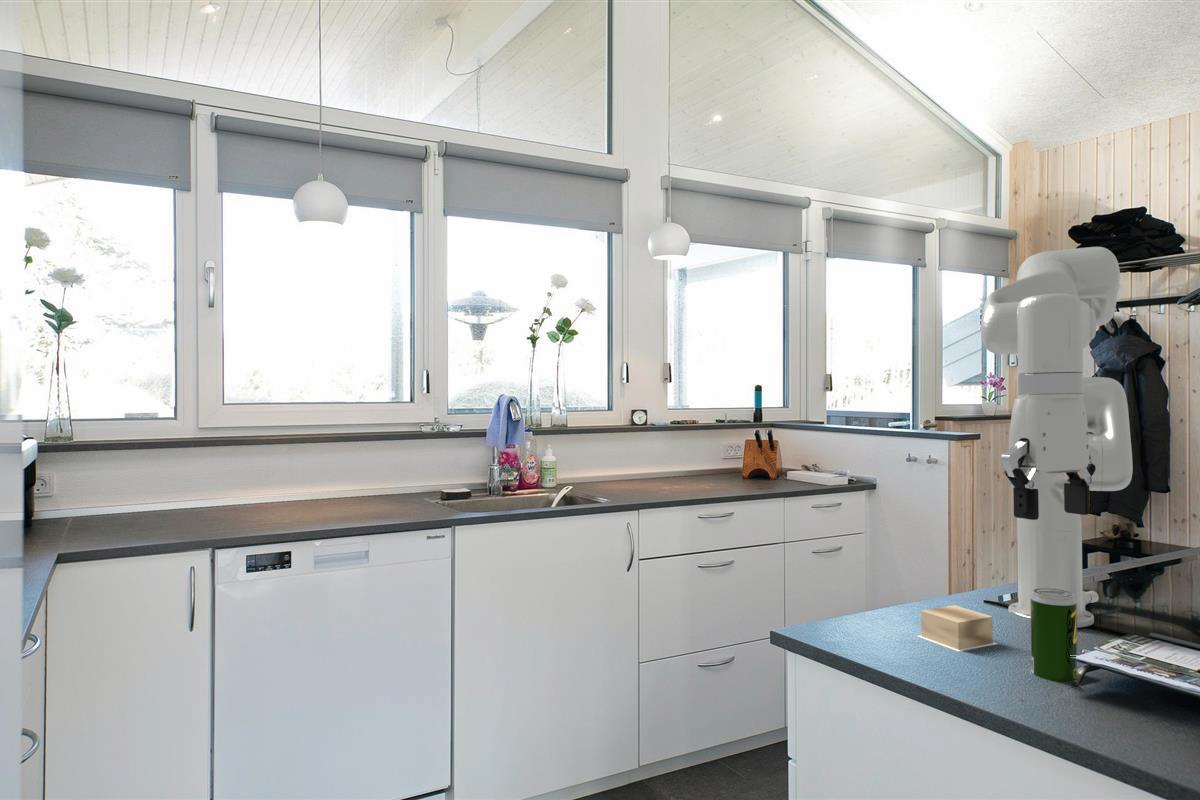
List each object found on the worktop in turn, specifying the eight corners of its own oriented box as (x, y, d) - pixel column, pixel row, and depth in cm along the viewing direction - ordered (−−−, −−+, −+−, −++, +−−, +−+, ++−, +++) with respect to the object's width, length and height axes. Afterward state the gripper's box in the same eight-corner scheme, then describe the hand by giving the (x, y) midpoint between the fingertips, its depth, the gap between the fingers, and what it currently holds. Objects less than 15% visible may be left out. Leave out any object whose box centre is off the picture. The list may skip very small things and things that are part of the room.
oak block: (954, 630, 122) (954, 605, 122) (992, 643, 115) (992, 616, 115) (921, 636, 119) (921, 610, 119) (958, 649, 112) (958, 622, 112)
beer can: (1036, 687, 100) (1035, 596, 100) (1027, 673, 106) (1025, 586, 106) (1083, 691, 99) (1082, 599, 99) (1071, 676, 104) (1070, 588, 104)
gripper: (1067, 388, 109) (1069, 508, 109) (979, 388, 102) (980, 516, 102) (1121, 386, 102) (1123, 515, 102) (1029, 387, 95) (1031, 524, 95)
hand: (1051, 515), depth 102 cm, fingers open, 9 cm apart
